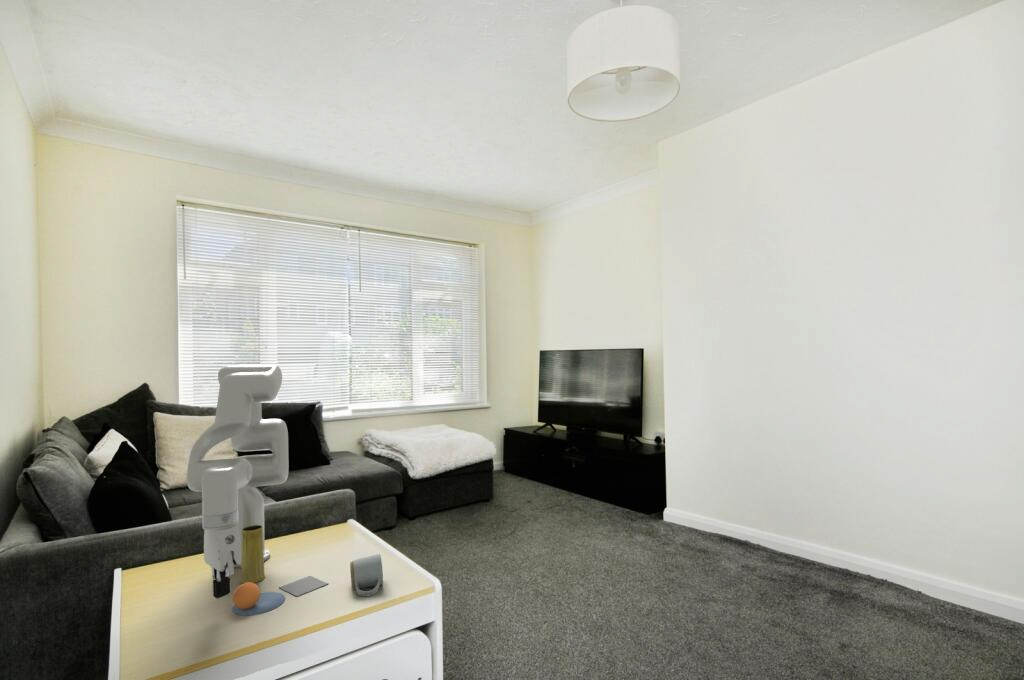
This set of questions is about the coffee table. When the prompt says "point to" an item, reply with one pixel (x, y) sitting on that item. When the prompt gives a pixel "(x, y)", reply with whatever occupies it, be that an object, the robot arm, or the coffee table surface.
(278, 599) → the disc
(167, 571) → the coffee table surface
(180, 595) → the coffee table surface
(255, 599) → the ball
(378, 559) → the grey rounded holder
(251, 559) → the vase
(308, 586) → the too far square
